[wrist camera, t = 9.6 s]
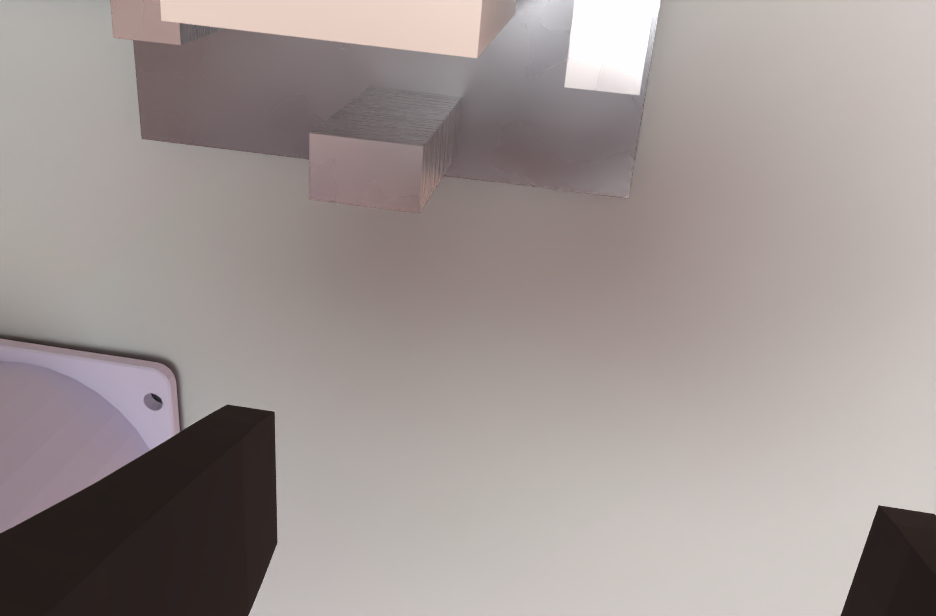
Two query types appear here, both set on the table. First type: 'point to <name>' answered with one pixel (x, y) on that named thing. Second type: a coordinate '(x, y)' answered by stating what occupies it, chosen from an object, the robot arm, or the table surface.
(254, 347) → the table surface
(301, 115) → the grey peg tray
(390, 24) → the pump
